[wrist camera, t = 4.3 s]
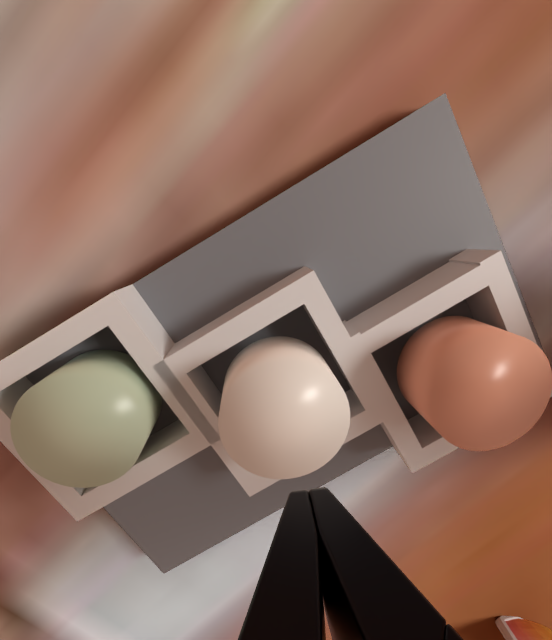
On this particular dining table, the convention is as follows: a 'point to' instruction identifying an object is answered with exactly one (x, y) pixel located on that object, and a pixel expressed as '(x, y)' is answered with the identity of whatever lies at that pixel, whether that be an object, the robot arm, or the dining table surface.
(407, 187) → the button panel
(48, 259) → the dining table surface
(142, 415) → the sage button
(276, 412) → the white button
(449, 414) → the terracotta button
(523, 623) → the sunglasses
